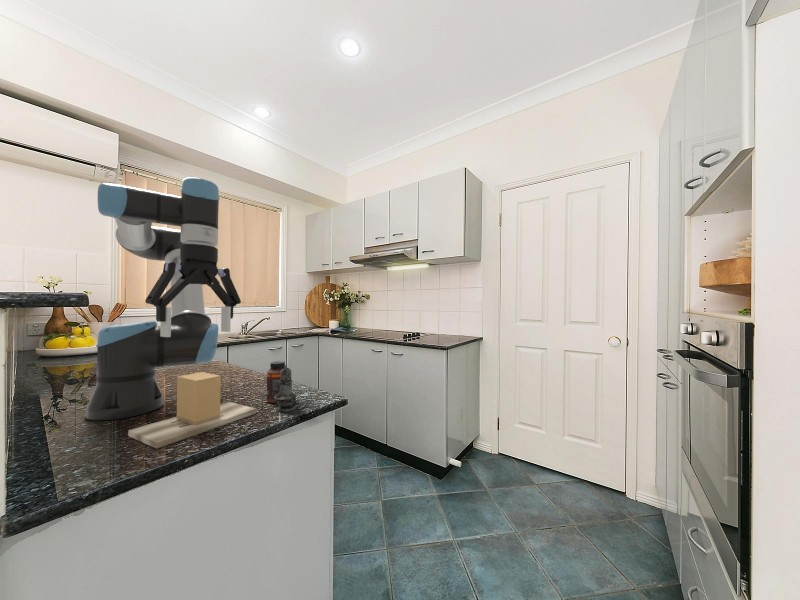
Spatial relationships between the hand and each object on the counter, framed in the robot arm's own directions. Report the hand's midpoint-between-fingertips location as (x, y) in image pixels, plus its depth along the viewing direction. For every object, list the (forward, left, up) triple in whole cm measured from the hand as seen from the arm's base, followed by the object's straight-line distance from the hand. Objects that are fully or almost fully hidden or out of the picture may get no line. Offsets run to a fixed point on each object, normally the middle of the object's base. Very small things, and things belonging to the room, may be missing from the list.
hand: (198, 334), depth 72 cm
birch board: (+1, 0, -21) cm, 21 cm away
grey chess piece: (+11, +17, -21) cm, 29 cm away
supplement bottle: (+3, +21, -21) cm, 30 cm away
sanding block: (+1, 0, -20) cm, 20 cm away
